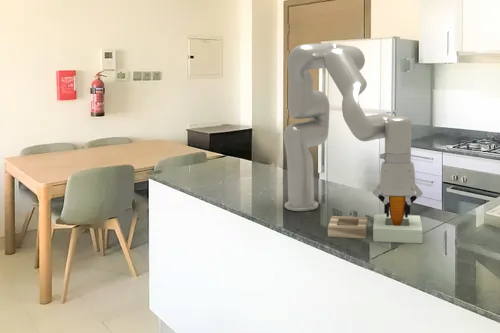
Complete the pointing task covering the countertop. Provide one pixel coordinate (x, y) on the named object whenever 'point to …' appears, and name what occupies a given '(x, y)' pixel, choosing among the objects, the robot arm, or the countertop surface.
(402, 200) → the carrot
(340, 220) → the socket block
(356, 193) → the countertop surface
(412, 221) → the pale green square frame
